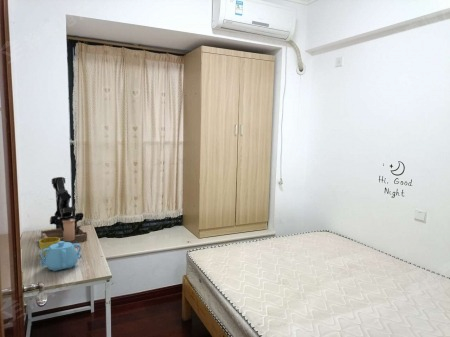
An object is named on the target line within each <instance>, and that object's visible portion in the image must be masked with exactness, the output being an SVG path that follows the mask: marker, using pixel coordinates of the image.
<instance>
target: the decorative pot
mask: <svg viewBox="0 0 450 337" xmlns="http://www.w3.org/2000/svg"><path fill="white" fill-rule="evenodd" d="M74 246H79V247H78V250H77V249H76V247H75V248H74ZM47 250H48V251H47ZM81 250H82V246H81V245H80V244H79V243H78V244H72V243H70V242H64V241H60V242H58V243H57V244H53V245H51V246H50V247H49V248H46V249H43V250H41V251H40V257H41V260H40V261H39V265H40V266H42V267H43V266H45V267H46V268H47V269H48V270H49V271H50V270H51V271H53V272H58V271H60V270H64V269H72V268H73V267H74V266H76V264H78V261H79V260H80V259H81V258H82V257H83V254H82V253H81ZM44 251H47V253H46V256H45V258H44V257H43V252H44Z"/></svg>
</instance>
